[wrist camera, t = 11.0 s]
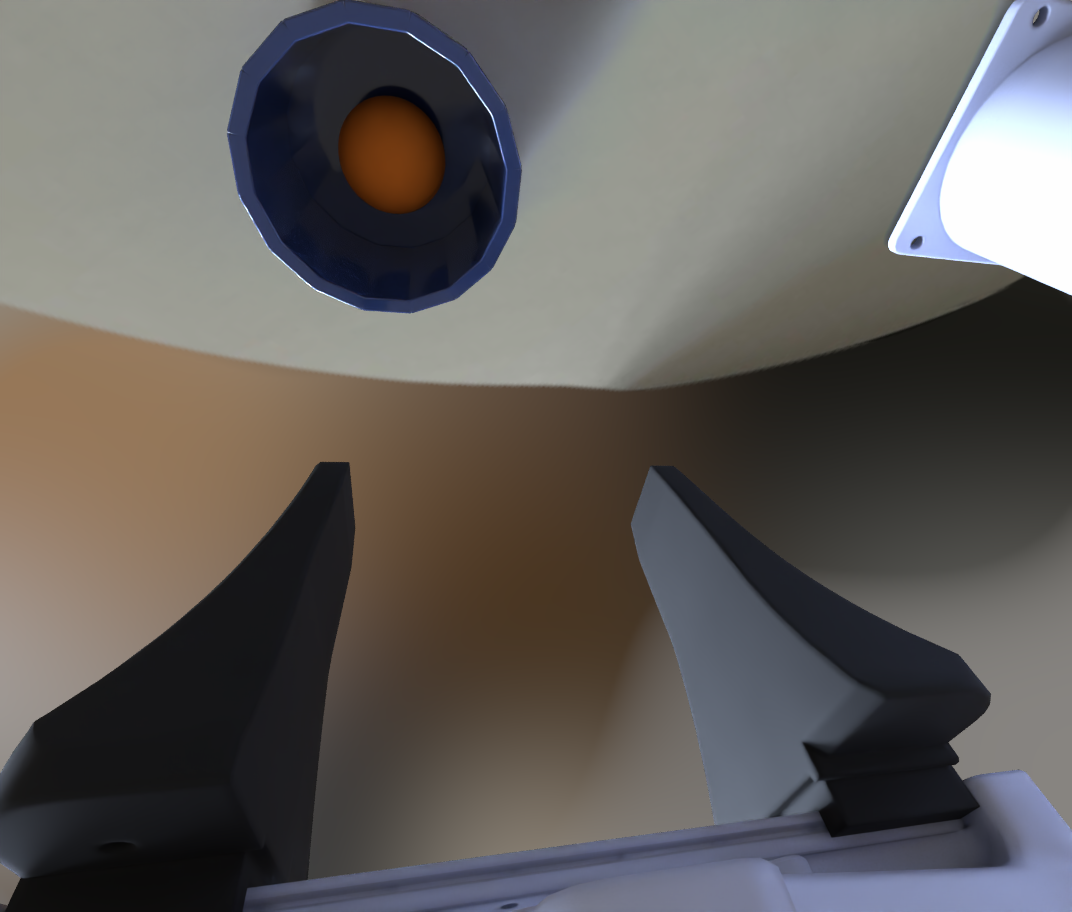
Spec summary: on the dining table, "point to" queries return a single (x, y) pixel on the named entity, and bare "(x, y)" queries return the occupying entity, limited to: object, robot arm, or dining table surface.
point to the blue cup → (315, 172)
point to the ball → (391, 154)
